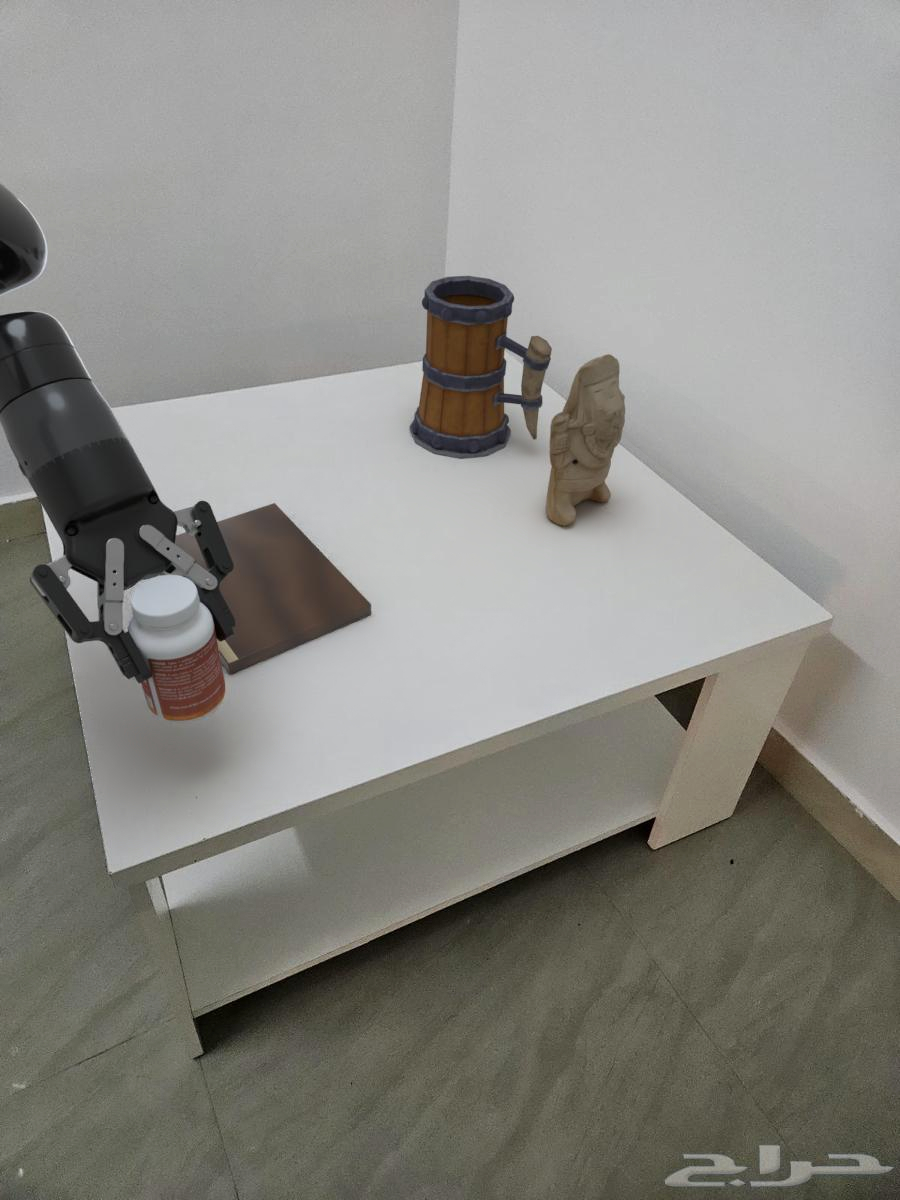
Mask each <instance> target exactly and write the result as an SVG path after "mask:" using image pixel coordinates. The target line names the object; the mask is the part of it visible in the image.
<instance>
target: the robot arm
mask: <svg viewBox="0 0 900 1200" xmlns="http://www.w3.org/2000/svg"><path fill="white" fill-rule="evenodd" d="M47 261H48V243H47V240H46V237H45V234H44V231H43V230H42V226H40V224H39V222H38V220H37V219H36V218H35V216H34V215H33V213H32V211H31V210H30V209H29V208H28V207H27V206H26V205H25V204H24V203H23V202H22V201H21V200H20V198H19V197H18V196H16V195H15V194H14V193H13V192H12V191H11V190H9V188H7V187H6V186H5V185H3V184H2V183H1V182H0V297H1V296H3V295H5V294H7V293H9V292H12V291H15V290H17V289H19V288H22V287H23V286H26V285H28V284H30V283H32V282H34V281H36V279H38V278H39V277H40V276H41V275H42V273H43V272H44V270H45V268H46V265H47ZM0 425H1V427H2V429H3V431H4V434H5V437H6V440H7V442H8V445H9V447H10V449H11V451H12V453H13V456H14V457H15V459H16V461H17V463H18V468H19V470H20V472H21V473H22V475H23V476H24V477H25V478H26V479H27V480H28V483H29V485H30V487H31V488H32V490H33V492H34V493H35V495H36V497H37V499H38V501H39V502H40V505H41V506H42V508H43V510H44V511H45V513H46V515H47V517H48V519H49V521H50V522H51V524H52V526H53V527H54V530H55V531H56V533H57V535H58V537H59V539H60V540H61V543H62V548H63V551H62V552H63V553H62V556H60V557H59V558H57V559H55V560H53V561H51V562H49V563H47V564H43V563H41V564H38V565H36V566H35V567H34V568H33V570H32V573H31V574H30V576H29V583H30V585H31V586H32V587H33V589H34V590H35V592H36V593H37V594H38V596H39V597H40V598H41V599H42V601H43V603H44V604H45V605H46V607H47V608H48V609H49V611H50V612H51V614H52V615H53V617H54V618H55V619H56V621H58V623H59V624H60V626H61V627H62V628H63V630H64V631H65V633H66V634H67V636H69V638H70V640H72V642H74V643H76V644H83V643H86V642H87V643H89V642H102V643H103V644H104V645H106V647H107V649H108V651H109V653H110V655H111V657H112V658H113V660H114V661H115V663H116V665H117V667H118V668H119V671H120V672H121V674H122V675H123V676H124V677H125V678H126V679H128V680H130V679H133V678H134V679H135V681H136V682H137V683H138V684H141V682H143V681H145V680H147V679H149V678H151V677H152V673H151V671H150V669H149V667H148V666H147V664H146V662H145V660H144V658H143V657H142V655H141V653H140V651H139V649H138V647H137V646H136V644H135V642H134V640H133V638H132V637H131V635H130V633H129V631H128V630H127V631H125V630H124V628H123V627H124V626H123V604H124V598H125V597H124V595H125V591H127V590H130V589H131V588H133V587H134V586H136V585H137V584H138V583H139V582H141V581H146V580H148V579H151V578H153V577H157V576H160V575H161V574H162V573H164V574H166V575H178V576H182V577H186V578H188V579H189V580H191V581H192V582H193V583H194V584H195V586H196V588H197V591H198V595H199V598H200V602H201V603H202V604H204V605H205V606H206V607H207V608H208V610H209V611H210V613H211V615H212V618H213V622H214V627H215V632H216V637H217V639H218V641H220V642H221V641H223V640H225V639H227V638H229V637H231V636H233V635H234V632H233V630H232V627H234V626H235V618H234V617H233V615H232V613H231V611H230V609H229V608H228V605H227V604H226V602H225V600H224V598H223V596H222V594H221V592H220V590H219V584H220V582H221V581H222V580H223V579H224V578H225V577H226V576H227V575H228V574H229V573H230V572H231V571H232V570H233V568H234V564H233V561H232V559H231V556H230V554H229V551H228V549H227V546H226V544H225V541H224V539H223V536H222V534H221V531H220V529H219V526H218V524H217V522H218V521H217V519H216V516H215V514H214V512H213V508H212V506H211V504H210V503H209V502H208V501H206V500H199V501H198V502H196V503H194V505H193V506H189V507H185V508H182V509H179V510H172V509H171V508H170V507H168V506H167V505H166V504H164V502H163V501H161V499H160V497H159V495H158V492H157V490H156V488H155V486H154V484H153V482H152V480H151V479H150V477H149V475H148V473H147V471H146V470H145V467H144V466H143V464H142V462H141V461H140V459H139V457H138V455H137V453H136V451H135V449H134V447H133V446H132V444H131V441H130V440H129V438H128V436H127V435H126V433H125V431H124V429H123V427H122V425H121V423H120V421H119V419H118V418H117V416H116V414H115V413H114V411H113V409H112V407H111V406H110V405H109V403H108V401H107V400H106V398H105V397H104V396H103V395H102V393H101V392H100V391H99V389H98V387H97V386H96V384H95V383H94V381H93V379H92V376H91V375H90V373H89V371H88V370H87V368H86V366H85V364H84V362H83V360H82V358H81V357H80V355H79V353H78V351H77V350H76V346H75V345H74V343H73V340H72V339H71V337H70V336H69V333H68V332H67V331H66V329H65V328H64V326H63V325H62V323H61V322H60V321H59V320H57V318H56V317H54V316H53V315H51V314H49V313H47V312H44V311H38V310H24V311H15V312H10V313H9V312H8V313H4V314H3V313H2V314H0ZM178 527H181V528H183V529H184V531H185V532H187V533H188V534H189V535H192V536H194V535H195V538H196V540H197V543H198V545H199V548H200V550H201V553H202V555H203V558H204V560H205V563H206V565H207V568H208V571H207V570H205V569H204V568H202V567H201V566H200V565H198V564H197V563H196V561H195V559H194V558H193V557H191V556H190V555H189V554H187V553H186V552H185V551H183V550H182V549H181V548H179V547H178V546H176V545H175V538H176V535H177V531H178ZM177 557H178V558H177ZM69 570H72V571H74V572H76V573H78V574H80V575H82V576H84V577H87V579H90V580H92V581H94V582H96V584H97V585H96V589H97V591H96V597H97V598H96V599H97V604H96V605H97V609H98V620H96V621H90V619H88V617H87V616H86V614H85V613H84V611H83V610H82V609H81V607H80V606H79V605H78V603H77V602H76V600H75V599H74V597H73V596H72V595H71V593H70V592H69V590H68V588H69V587H70V585H71V578H70V576H69Z"/></svg>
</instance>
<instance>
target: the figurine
mask: <svg viewBox="0 0 900 1200" xmlns="http://www.w3.org/2000/svg"><path fill="white" fill-rule="evenodd" d="M621 390H622V389H620V362H619V360H618V358H616V357H614V355H612V354H609V353H608V354H607V353H606V354H604V355H602V356H597V357H595V358H592V359H590V360H588V361H587V362H585V363H584V364H583V365H582V366H580V367H579V368H578V370H577V372H576V374H575V376H574V378H573V380H572V383H571V386H570V391H569V394H568V396H567V399H566V401H565V404H564V406H563V408H562V411H561V412H558V413H557V414H555V415H554V416H553V418H552V419H551V422H550V426H549V427H550V429H549V463H550V466H551V468H550V472H549V479H548V486H547V491H546V503H545V512H546V516H547V518H548V520H550V521H551V522H553V523H555V524H557V525H559V526H563V527H565V526H568V525H571V524H573V523H574V521H575V520H576V517H577V510H576V508H575V506H576V505H578V504H580V502H584V501H587V500H591V501H594V502H597V503H605V502H608V501H609V500H610V499H611V496H612V493H611V491H610V488H609V487H608V486H607V483H606V479H607V477H608V475H609V473H610V470H611V465H612V458H613V456H614V455H613V454H614V451H615V448H616V447H617V446H618V445H619V444H620V442H621V440H622V435H623V428H624V426H625V421H626V404H625V403H626V402H625V400H626V399H625V398H626V397H625V394H624V393H622V391H621Z"/></svg>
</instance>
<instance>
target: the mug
mask: <svg viewBox="0 0 900 1200" xmlns="http://www.w3.org/2000/svg"><path fill="white" fill-rule="evenodd" d="M514 301H515V296H514V293H513V292H512V291H511V290H510V289H509V287H508V286H507V285H506V284H504V283H501V282H499V281H496V280H494V279H491V278H487V277H479V276H474V275H473V276H472V275H457V276H455V275H454V276H453V275H451V276H446V277H445V276H444V277H442V278H438V279H435V280H432V281H431V282H429V284H428V285H427V286H426V288H425V289H424V297H423V298H422V299H421V306H422V308H423V309H424V310H426V341H425V354H424V355H423V356H422V367H421V368H422V370H421V371H422V373H423V374H422V382H421V389H420V395H419V401H418V402H419V403H418V406H417V408H416V411H415V412H414V413H413V415H414V416H413V420H412V422H411V423H410V425H408V426H409V430H408V431H409V432H410V434H411V437H412V439H413V441H414V443H415V444H416V445H418V446H420V447H421V448H423V449H425V450H426V451H429V452H430V453H432V454H434V455H440V456H445V457H450V458H456V459H469V458H478V457H479V458H480V457H488V456H490V455H492V454H494V453H496V452H498V451H500V450H501V449H504V448H505V447H506V446H507V444H508V441H509V439H510V437H511V435H512V430H511V428H510V427H509V425H508V424H509V422H510V418H509V417H510V416H509V415H508V414H506V413H505V404H514V405H520V407H521V409H522V412H523V416H524V417H523V418H524V419H525V420H524V421H525V425H526V426H525V427H526V428H527V431H528V433H529V434H530V436H531V438H532V440H537V439H538V438H537V437H538V422H539V421H538V420H539V411H540V408H542V407H543V395H542V387H543V384H544V380H545V376H546V372H547V370H548V368H549V366H550V362H551V359H552V358H551V355H552V351H553V348H552V346H551V345H550V343H549V341H548V340H546V339H545V338H543V337H541V336H540V335H531V336H530V339H529V343H528V345H527V347H525V346H524V345H522V344H520V343H518V342H517V341H515V340H513V339H511V338H510V337H508V336H507V335H508V334H507V333H508V331H507V329H508V319H509V317H510V316H511V315H512V314H513V313H512V312H513V303H514ZM505 350H508V351H509V352H512V353H513V354H516V355H517V356H518V357H521V358H522V362H523V365H522V373H521V374H522V376H521V382H520V383H521V384H520V390H521V394H513V393H505V376H506V371H507V360H506V358H505V352H506V351H505Z"/></svg>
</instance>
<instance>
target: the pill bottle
mask: <svg viewBox="0 0 900 1200" xmlns="http://www.w3.org/2000/svg"><path fill="white" fill-rule="evenodd" d="M129 600H130V601H129V603H130V607H131V611H132V613H131V614H132V616H131V618H130V621H129V623H128V625H127V626H128V627H127V631H129V633H130V635H131V637H132V638H133V640H134V642H135V644H136V646H137V647H138V649H139V651H140V653H141V655H142V657H143V658H144V660H145V662H146V664H147V666H148V667H149V669H150V671H151V673H152V677H151V678H149V679H147V680H145V681H143V682H141V683H140V684H141V687H142V691H143V694H144V697H145V701H146V704H147V707H148V709H149V711H150V712H151V715H153V716H154V717H155V718H157V719H158V720H159V721H162V722H164V723H166V724H167V723H168V724H173V725H187V724H188V725H189V724H193V723H197V722H200V721H203V720H205V719H206V718H208V717H210V716H211V715H213V714H214V713H216V711H218V709H219V708H220V707H221V706H222V704H223V702H224V700H225V697H226V694H227V687H226V686H227V685H226V680H225V675H224V669H223V664H222V663H221V659H220V654H219V649H218V643H217V637H216V632H215V627H214V622H213V618H212V615H211V613H210V611H209V610H208V608H207V607H206V606H205V605H204V604H202V603H201V602H200V599H199V595H198V591H197V588H196V586H195V584H194V583H193V582H192V581H191V580H189V579H188V578H186V577H182V576H178V575H162V576H160V575H158V576H156V577H153V578H151V579H145V580H143V582H141V583H139V584H138V585H137V586H136V587H135V588H134V589H133V591H132V592H131V594H130V598H129Z"/></svg>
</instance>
